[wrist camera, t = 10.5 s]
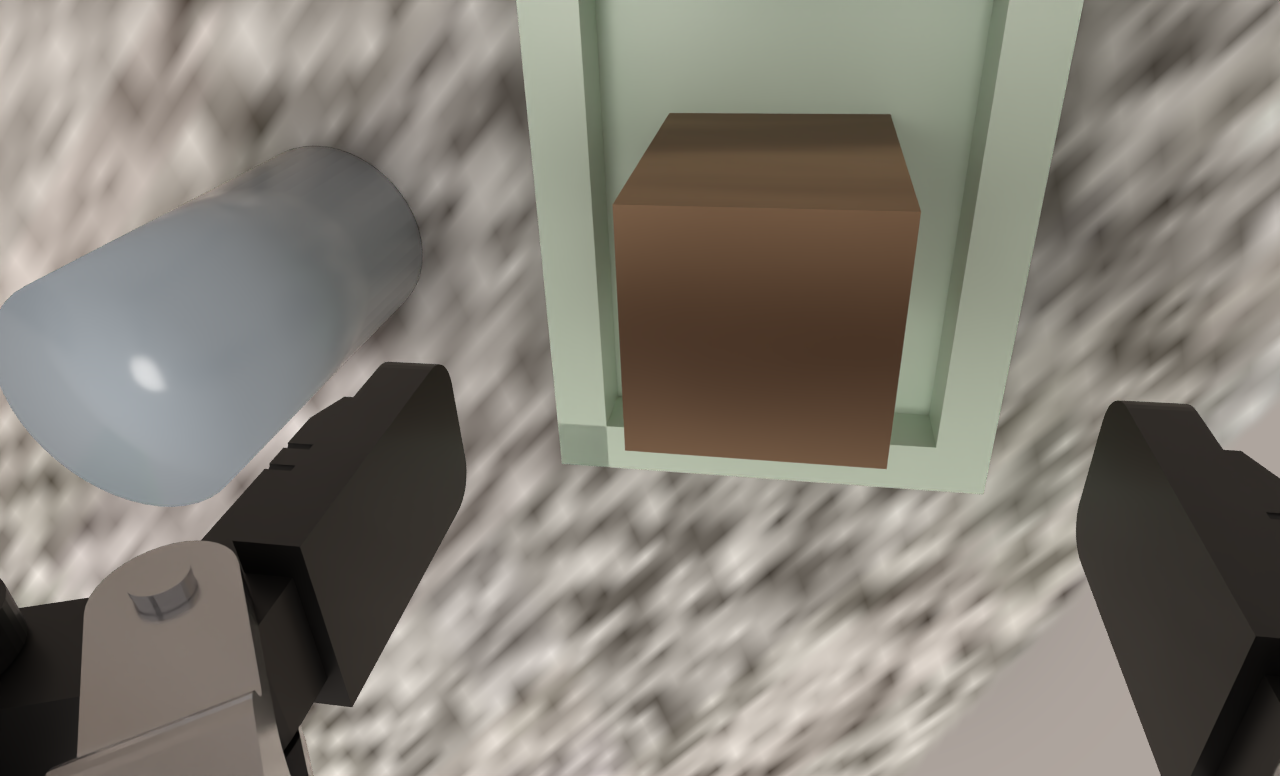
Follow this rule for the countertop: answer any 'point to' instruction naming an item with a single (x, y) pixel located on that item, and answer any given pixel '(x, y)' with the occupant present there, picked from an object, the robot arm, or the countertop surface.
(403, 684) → the countertop surface
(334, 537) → the robot arm
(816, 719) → the countertop surface
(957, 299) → the sage tray
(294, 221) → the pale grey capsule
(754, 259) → the walnut block
